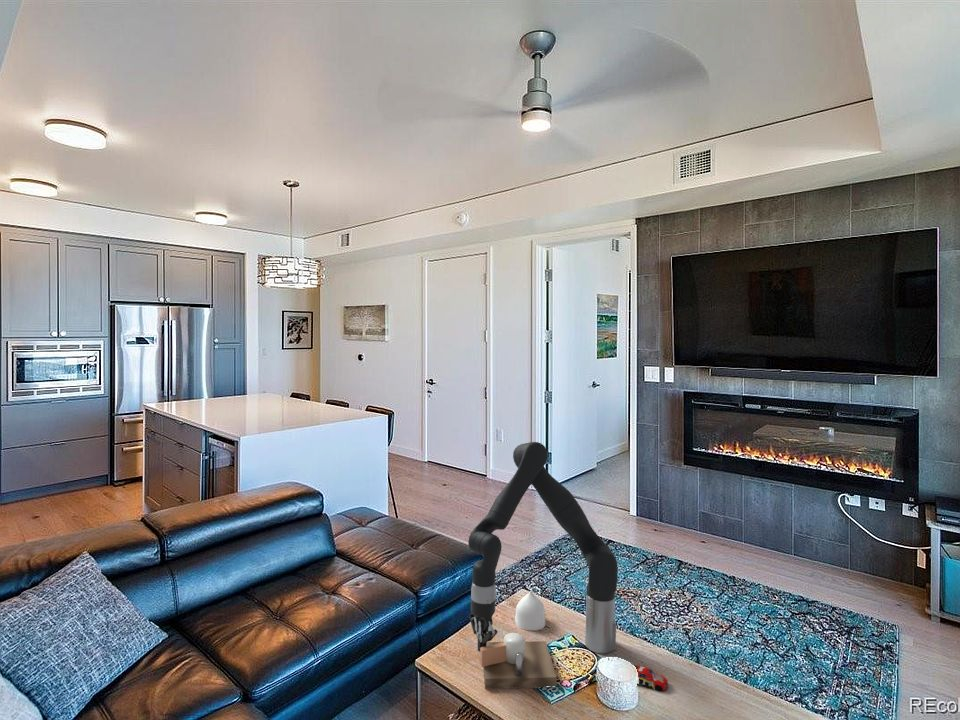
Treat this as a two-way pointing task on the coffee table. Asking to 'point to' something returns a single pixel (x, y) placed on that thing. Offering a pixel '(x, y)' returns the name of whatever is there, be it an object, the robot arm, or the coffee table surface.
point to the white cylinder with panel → (503, 650)
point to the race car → (651, 679)
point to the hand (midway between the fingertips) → (481, 651)
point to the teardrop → (530, 613)
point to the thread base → (522, 669)
